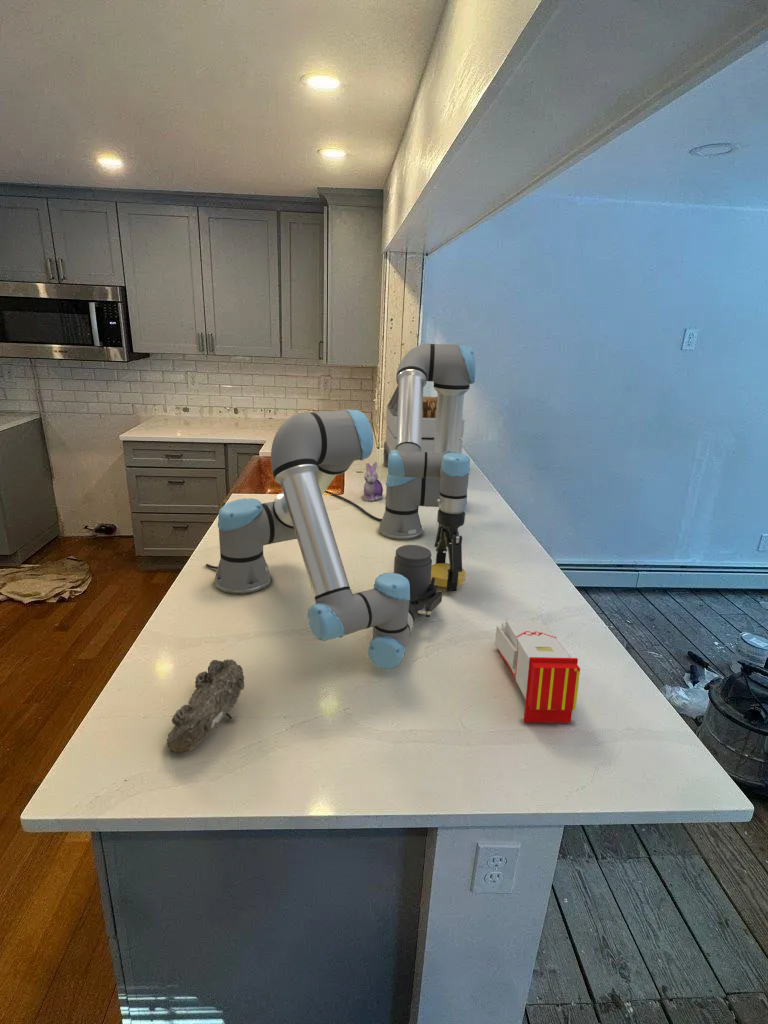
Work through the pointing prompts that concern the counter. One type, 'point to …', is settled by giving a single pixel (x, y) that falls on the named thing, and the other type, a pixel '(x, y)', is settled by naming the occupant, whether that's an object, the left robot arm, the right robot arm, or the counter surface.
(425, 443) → the grey slatted crate
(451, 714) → the counter surface
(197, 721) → the fossil
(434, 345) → the right robot arm
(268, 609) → the counter surface
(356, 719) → the counter surface
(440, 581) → the lid
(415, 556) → the jar
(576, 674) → the toy
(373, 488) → the figurine
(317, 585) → the left robot arm
